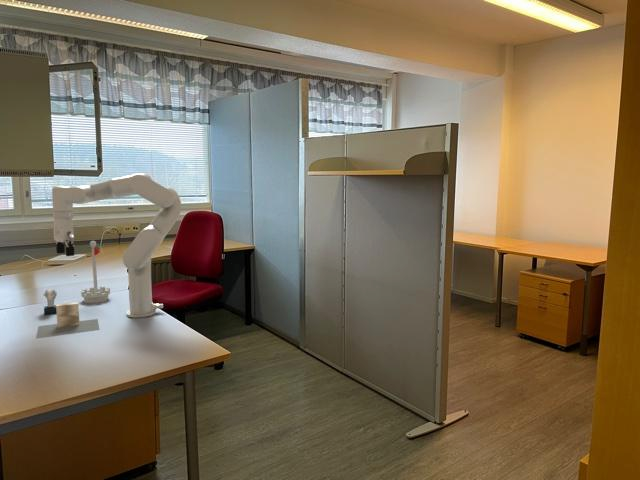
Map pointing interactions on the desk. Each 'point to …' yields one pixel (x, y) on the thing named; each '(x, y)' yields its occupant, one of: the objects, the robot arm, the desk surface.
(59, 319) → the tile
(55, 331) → the mat
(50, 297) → the watch
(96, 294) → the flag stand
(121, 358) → the desk surface
